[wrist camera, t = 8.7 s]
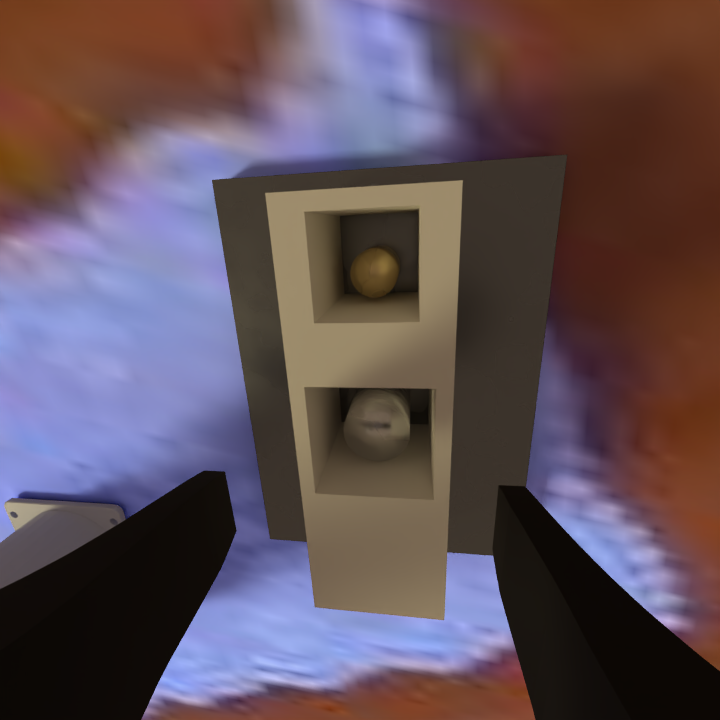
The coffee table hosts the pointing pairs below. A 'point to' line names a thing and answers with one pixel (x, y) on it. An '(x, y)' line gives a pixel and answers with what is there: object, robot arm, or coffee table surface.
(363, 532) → the block with holes
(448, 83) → the coffee table surface
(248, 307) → the flange base
